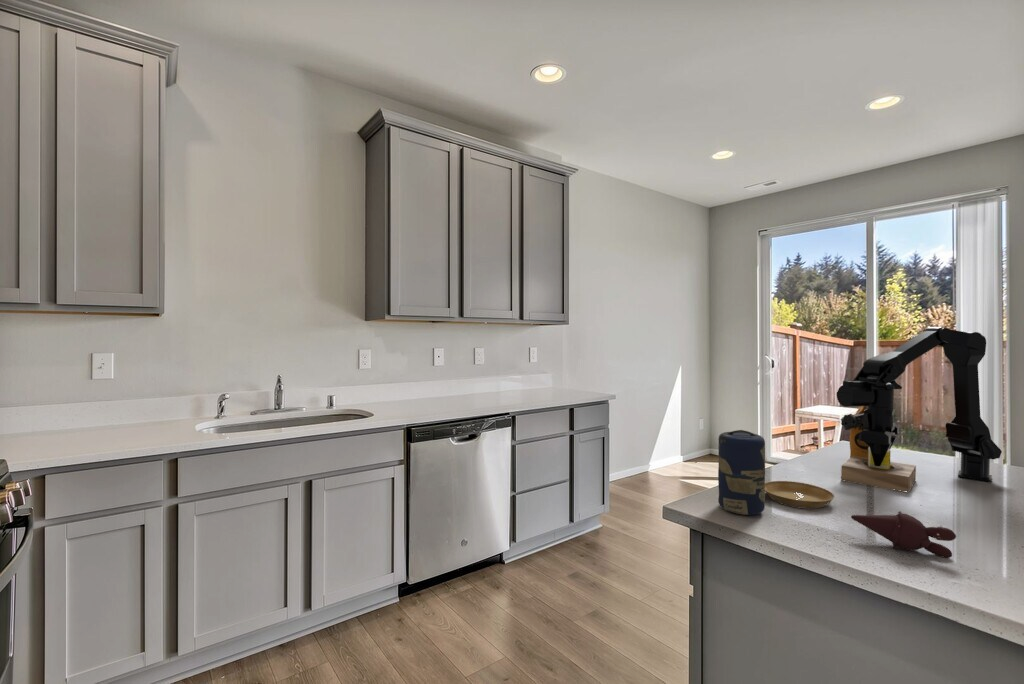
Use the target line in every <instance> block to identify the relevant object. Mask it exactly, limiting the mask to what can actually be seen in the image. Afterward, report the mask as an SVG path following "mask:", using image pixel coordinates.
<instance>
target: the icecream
mask: <svg viewBox="0 0 1024 684" xmlns="http://www.w3.org/2000/svg"><path fill="white" fill-rule="evenodd" d="M850 519H852V520H853V521H856V523H859V524H861V525H863V526H864V527H866V528H868V529H869V530H870V531H872V532H874V533H875V534H877V535H879V536H881V537H882V538H884V539H885V540H888V542H891V543H892V548H893V550H895V549H896V548H899V549H900V550H904V551H918V550H920V549H924V550H926V551H928V552H929V553H931V554H933V555H935V556H937V557H941V558H945V559H950V558H952V557H953V553H952V552H953V551H952V550H951V549H950V548H948V547H947V546H944V545H943V544H941V543H937V542H934V541H932V540H930V538H932V539H935V540H938V541H945V542H949V541H951V542H952V541H953V540H955V539H956V538H957V535H956V533H955V531H953V529H950V528H947V527H943V526H936V527H935V526H925V525H924V524H923V522H922V521H920V520H919V519H918V518H916V517H914V516H912V515H910V514H908V513H903V512H902V511H901V510H900V511H898V513H896V514H895V515H894V514H891V515H890V514H889V515H888V514H886V515H885V514H881V515H880V514H879V515H878V514H877V515H875V514H873V515H871V514H869V515H868V514H865V515H864V514H861V515H860V514H856V515H855V514H852V515H850Z"/></svg>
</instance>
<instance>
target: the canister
mask: <svg viewBox="0 0 1024 684" xmlns="http://www.w3.org/2000/svg"><path fill="white" fill-rule="evenodd" d="M717 445H718V461H717V462H718V468H717V469H718V470H717V471H718V473H717V475H718V476H717V478H718V479H717V480H718V485H717V486H718V499H717V501H718V504H719V506H720V507H721V508H722V509H724V510H726V511H727V512H731V513H734V514H738V515H747V516H749V515H753V516H754V515H758V514H761V513H762V512H764V511H765V507H766V506H765V505H766V502H765V501H766V499H765V497H766V492H765V483H766V441H765V438H764V437H763V436H762V435H759V434H758V433H757V434H756V433H755V432H754V433H753V432H751V431H747V430H743V429H736V430H732V431H725V432H722V433H720V434H719V436H718V444H717Z"/></svg>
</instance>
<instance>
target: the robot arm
mask: <svg viewBox="0 0 1024 684" xmlns="http://www.w3.org/2000/svg"><path fill="white" fill-rule="evenodd" d="M936 347H942V348H943V351H944V352H943V353H944V355H945V357H946V358H947V359H948V361H949V362H950V363H951V365H952V377H953V393H954V395H953V396H954V397H953V398H954V410H955V411H954V415H955V417H954V418H953V419H952V421H951V422H946V423H945V430H946V431H945V432H946V433H945V437H946V438H947V440H948V443H949V444H950V445H949V446H950V447H951V451H953V452H955V453H956V452H957V453H960V469H959V470H958V473H957V477H959V478H965V479H971V480H978V481H984V482H992V478H993V476H992V475H991V474H990V471H991V469H990V467H991V462H990V461H991V460H997V459H1000V458H1001V456H1002V455H1001V454H1002V453H1003V452H1002V450H1001V449H1000V447H999V446H998V445H997V444H996V443H995V442H994V441H993V439H992V437H991V436H992V435H991V433H990V431H991V430H990V428H989V427H988V425H987V424H986V422H985V421H984V420H983V419H982V416H981V403H980V402H981V400H980V382H979V381H980V380H979V379H980V378H979V364H980V363H981V361H982V360H983V358H984V357H985V355H986V352H987V351H986V350H987V338H986V336H985V335H983V334H982V333H981V332H978V331H977V332H976V331H962V330H961V331H960V330H954V329H952V328H947V327H945V326H944V327H943V326H941V327H940V326H934V327H933V326H929V327H926V328H924V329H923V330H922V331H921V332H920V333H919V334H916V335H915V336H913V338H911V339H909V340H907V341H906V342H904V343H902V344H901V345H899V346H898V347H896V348H895V349H893V350H891V351H889V352H885V353H882V354H878V355H875V356H873V357H870V358H867V359H866V360H865V361H864V362H863V363H862V365H863V366H862V367H861V368H860V370H859V371H858V373H857V374H856V375H855V377H854V378H853V380H852V381H851V380H843V381H842V385H841V386H839V388H838V389H837V392H836V400H837V402H838V403H839V404H840V405H841V406H842V407H844V408H845V407H860V406H867V409H865V410H864V413H863V414H857V415H855V414H854V415H853V414H852V413H849V414H844V415H843V417H842V418H840V421H841V422H840V424H841V426H842V427H843V429H844V431H850V429H851V428H857V427H862V426H863V429H864V430H863V431H861V432H860V433H859V441H863V442H865V443H866V444H867V445H868V446H869V447H870V450H871V454H872V457H873V461H874V464H875V466H880V465H881V463H882V461H883V459H884V457H885V455H886V453H887V451H888V449H890V450H891V449H892V448H893V447H892V446H893V445H894V443H895V441H896V439H897V437H898V436H897V435H899V434H900V426H899V425H898V424H897V423H896V422H894V415H895V414H896V410H895V409H894V408H895V407H894V404H895V402H894V401H895V398H894V397H895V390H902V389H903V386H901V385H900V383H897V381H896V380H897V379H898V378H899V377H900V376H902V374H904V373H905V371H906V368H907V366H908V365H909V364H911V363H913V362H914V361H915V360H917V359H918V358H920V357H921V356H923V355H924V354H927V353H928V352H929V351H931V350H933V349H934V348H936ZM891 433H894V435H892V434H891ZM895 435H896V436H895Z"/></svg>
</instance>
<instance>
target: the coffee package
mask: <svg viewBox="0 0 1024 684" xmlns="http://www.w3.org/2000/svg"><path fill="white" fill-rule="evenodd" d="M865 409H867V406H859V407H858V409H857V410H856V412H855V414H854V415H857V414H863V413H864V410H865ZM863 430H864V429H863V426H862V427H857V428H851V429H850V430H849V450H850V456H849V459H850V458H851V457H852V456H858V457H864V458H868V448H869V446H868V445H867V444H866V443H865V442H863V441H859V433H860V432H861V431H863Z"/></svg>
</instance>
